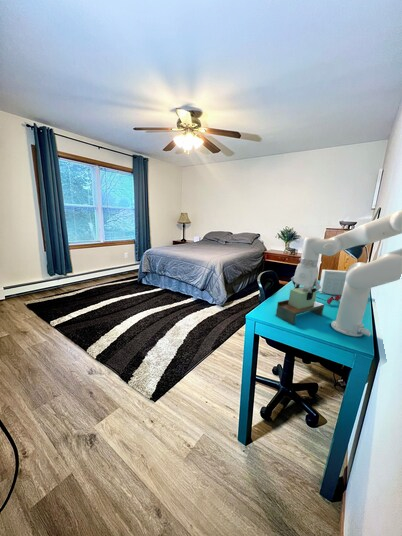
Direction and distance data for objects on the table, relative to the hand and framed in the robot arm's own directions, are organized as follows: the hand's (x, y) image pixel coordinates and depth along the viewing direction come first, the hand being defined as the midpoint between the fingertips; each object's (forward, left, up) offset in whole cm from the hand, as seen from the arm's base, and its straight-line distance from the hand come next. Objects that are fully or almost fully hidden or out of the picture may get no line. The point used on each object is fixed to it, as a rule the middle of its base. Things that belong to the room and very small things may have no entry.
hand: (302, 296), depth 109 cm
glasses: (+9, -34, -10) cm, 37 cm away
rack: (0, 0, -10) cm, 10 cm away
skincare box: (+11, -54, -10) cm, 56 cm away
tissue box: (0, 0, -4) cm, 4 cm away
